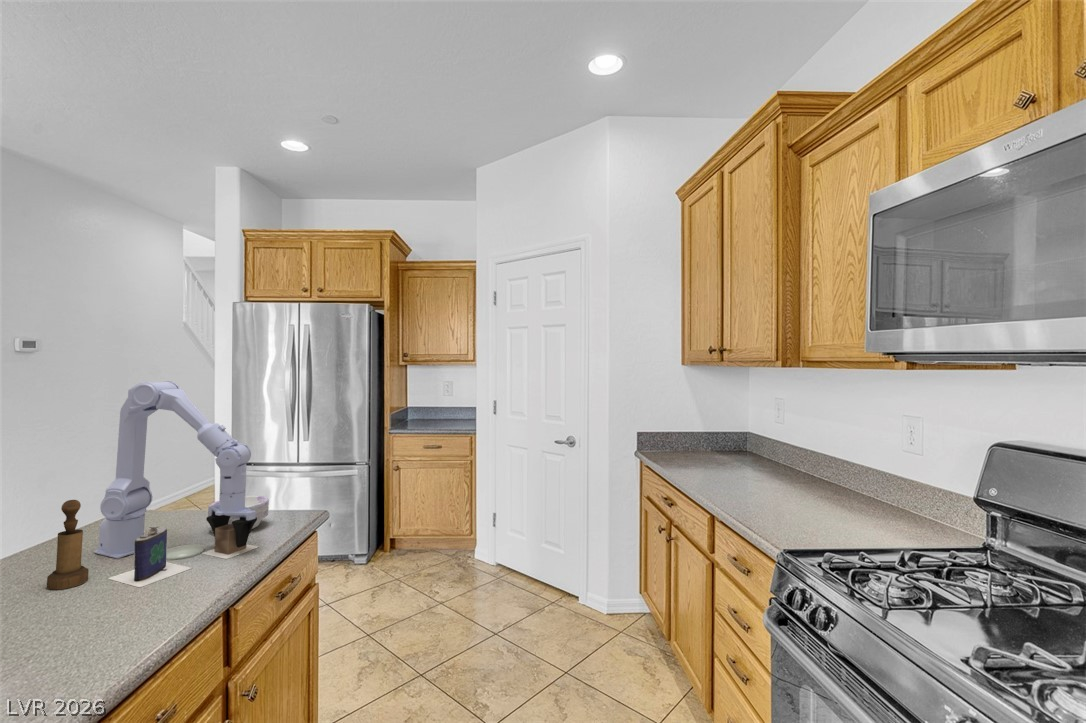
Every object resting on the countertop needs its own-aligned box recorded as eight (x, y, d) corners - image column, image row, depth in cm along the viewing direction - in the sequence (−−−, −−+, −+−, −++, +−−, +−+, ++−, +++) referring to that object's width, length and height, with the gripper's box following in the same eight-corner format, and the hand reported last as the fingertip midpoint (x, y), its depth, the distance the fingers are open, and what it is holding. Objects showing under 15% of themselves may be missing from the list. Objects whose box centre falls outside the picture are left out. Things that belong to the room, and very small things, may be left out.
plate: (152, 556, 121) (152, 554, 121) (189, 544, 130) (189, 542, 130) (176, 562, 118) (176, 559, 118) (212, 549, 127) (212, 547, 127)
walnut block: (214, 551, 125) (215, 528, 125) (232, 545, 130) (233, 522, 130) (228, 554, 123) (229, 530, 123) (246, 548, 128) (247, 525, 128)
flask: (157, 565, 116) (159, 519, 116) (170, 564, 116) (172, 519, 116) (130, 582, 107) (132, 533, 107) (144, 581, 107) (146, 532, 107)
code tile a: (107, 578, 108) (107, 578, 108) (161, 561, 119) (161, 560, 119) (139, 587, 104) (139, 587, 104) (192, 568, 115) (192, 567, 115)
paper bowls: (204, 526, 144) (205, 499, 145) (262, 517, 154) (263, 492, 154) (210, 541, 133) (211, 511, 133) (272, 530, 142) (273, 503, 143)
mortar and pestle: (95, 580, 108) (98, 498, 108) (58, 592, 101) (62, 505, 102) (76, 575, 110) (80, 495, 110) (39, 587, 104) (42, 502, 104)
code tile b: (201, 553, 124) (201, 553, 124) (234, 542, 132) (234, 541, 132) (226, 559, 121) (226, 558, 121) (258, 547, 129) (258, 546, 129)
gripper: (197, 492, 125) (196, 545, 125) (238, 498, 120) (236, 553, 120) (224, 486, 132) (222, 536, 132) (263, 492, 127) (261, 544, 127)
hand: (230, 544), depth 126 cm, fingers open, 7 cm apart
